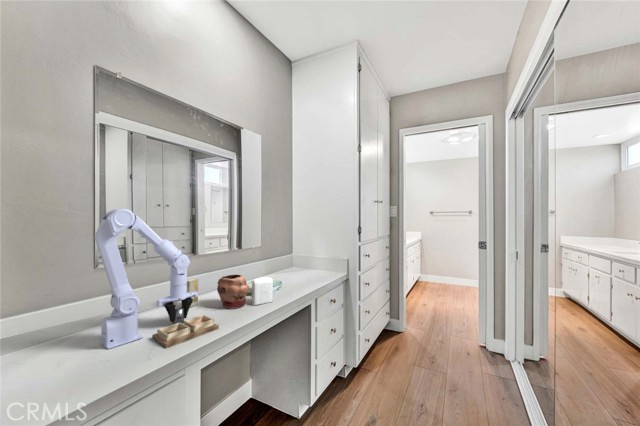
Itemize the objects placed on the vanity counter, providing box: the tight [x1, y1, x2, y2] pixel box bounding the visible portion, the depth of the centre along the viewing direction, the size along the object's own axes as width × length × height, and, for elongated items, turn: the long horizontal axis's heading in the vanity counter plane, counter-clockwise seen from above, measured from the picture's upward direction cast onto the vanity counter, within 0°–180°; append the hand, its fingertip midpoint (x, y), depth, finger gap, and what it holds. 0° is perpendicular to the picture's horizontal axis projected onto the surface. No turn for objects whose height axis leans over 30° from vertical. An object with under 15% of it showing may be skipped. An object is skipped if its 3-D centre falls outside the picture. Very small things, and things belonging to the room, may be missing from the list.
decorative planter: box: [216, 274, 249, 309], centre depth 121 cm, size 20×12×14 cm, turn 62°
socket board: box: [151, 314, 220, 349], centre depth 92 cm, size 18×11×3 cm, turn 143°
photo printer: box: [251, 276, 274, 306], centre depth 125 cm, size 10×4×12 cm, turn 126°
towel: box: [245, 279, 283, 297], centre depth 145 cm, size 18×21×5 cm
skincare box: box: [180, 277, 199, 308], centre depth 121 cm, size 6×4×12 cm
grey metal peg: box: [171, 306, 185, 325], centre depth 100 cm, size 4×4×6 cm
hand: (178, 319), depth 100 cm, fingers closed on grey metal peg, 4 cm apart
